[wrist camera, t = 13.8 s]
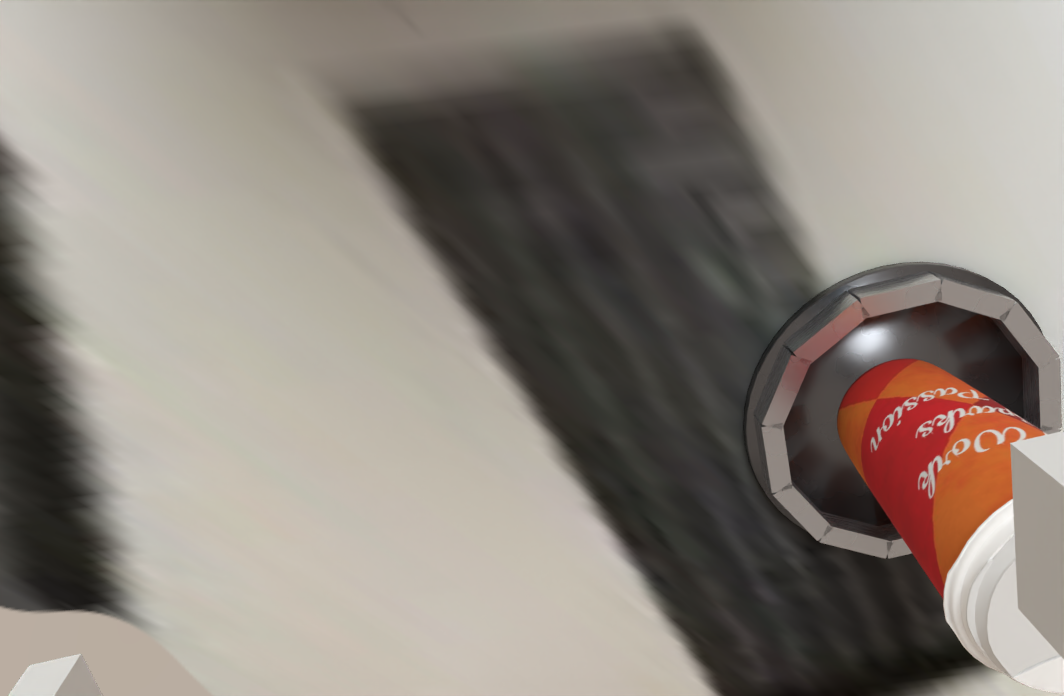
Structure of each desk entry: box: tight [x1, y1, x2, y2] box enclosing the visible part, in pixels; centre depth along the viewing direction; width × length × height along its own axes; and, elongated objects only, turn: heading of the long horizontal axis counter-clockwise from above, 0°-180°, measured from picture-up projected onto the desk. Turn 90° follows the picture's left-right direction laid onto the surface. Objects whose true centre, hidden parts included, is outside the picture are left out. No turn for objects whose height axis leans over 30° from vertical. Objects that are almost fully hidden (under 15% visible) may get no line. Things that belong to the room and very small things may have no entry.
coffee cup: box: [837, 359, 1064, 693], centre depth 36 cm, size 8×8×15 cm
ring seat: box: [743, 262, 1062, 559], centre depth 43 cm, size 15×15×2 cm
